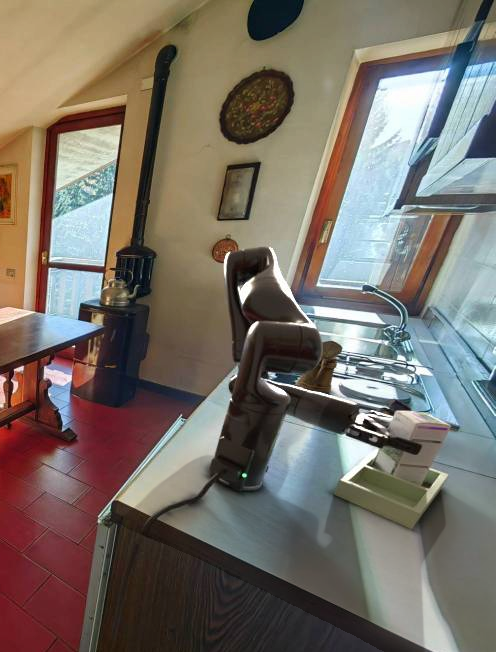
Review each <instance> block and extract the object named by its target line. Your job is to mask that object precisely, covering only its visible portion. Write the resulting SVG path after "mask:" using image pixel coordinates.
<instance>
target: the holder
mask: <svg viewBox="0 0 496 652" xmlns="http://www.w3.org/2000/svg"><path fill="white" fill-rule="evenodd" d="M378 450H379V449H378V448H377V449H374V450H373V451H372V452H371V453H369V454H368V455H367V456H366V457H365V458H363V460H361V461H360V462H359V463H358V464H357V465H355V466H354V467H353V468H352V469H351V470H349V471H348V473H346V474H345V475H344V476H343V477H341V479H339V481H338V484H337V485H336V488H335V489H334V493H333V495H334V496H336V497H339V498H341V499H343V500H345V501H347V502H350V503H352V504H354V505H356V506H359V507H361V508H364V509H365V510H368V511H370V512H373V513H375V514H377V515H379V516H381V517H383V518H385V519H387V520H390V521H392V522H395V523H397V524H399V525H401V526H403V527H406V528H407V529H410V530H413V529H414V527H415V526H416V524H417V523H418V522H419V520H420V518H421V517H422V516H423V514H424V513H425V512H426V510H427V509H428V508H429V506H430V505H431V504H432V502H433V500H434V499H435V498H436V497H437V495H438V494H439V493H440V491H441V490H442V488H443V486H444V485H445V483H446V481H447V479H448V478H449V476H450V475H449V474H448V473H446V472H443V471H439V470H437V469H434V468H431V467H430V469H429V471H428V473H427V475H426V477H425V479H424V481H423V483H422V485H421V486H420V485H417V484H414V483H412V482H409V481H406V480H404V479H401V478H399V477H396V476H393V475H391V474H388V473H385V472H383V471H380V470H378V469H375V468H372V467H371V466H372V463H373V461H374V459H375V457H376V454H377V452H378Z"/></svg>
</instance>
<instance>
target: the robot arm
mask: <svg viewBox="0 0 496 652" xmlns="http://www.w3.org/2000/svg"><path fill="white" fill-rule="evenodd" d="M223 279H224V280H223V281H224V288H225V295H226V303H227V310H228V315H229V321H230V327H231V352H232V353H231V356H232V357H231V358H232V361H233V362H234V363H235V364H236V366H237V369H238V370H237V373H236V375H234V376H233V377H232V378H231V379H230V380H229V382H228V387H227V388H228V391H229V393H230V394H231V396H230V400H229V403H228V407H227V410H226V413H225V417H224V420H223V423H222V427H221V429H220V430H221V431H220V434H219V437H218V440H217V444H216V448H215V451H214V455H213V458H212V459H211V462H210V465H209V469H208V470H209V474H208V477H209V478H210V479H209V480H208V481H207V482H205V484H204V486H202V488H201V490H200V491H199V492H198V493H197V494H195V495H194V496H192V497H188V498H186V499H182V500H180V501H177V502H174V503H171V504H168V505H166V506H164V507H162V508H161V509H159V510H157V511H155V512H154V513H153V514H151V515H150V516H149V518H148V519H147V520H146V522H145V523H144V525H142V527H141V530H140V532H141V533H142V534H147V532H149V529H150V528H151V526H152V525H153V523H155V521H156V520H157V519H158V518H159V517H161V516H163V515H164V514H166V513H168V512H170V511H172V510H175V509H177V508H181V507H183V506H185V505H188V504H192V503H195V502H197V501H199V500H200V499H202V498H203V497H204V496H205V495H206V494H207V493H208V491H209V489H210V488H211V487H212V486H213V485H214V484H215V483H216V482H219V483H220V484H222V485H225V486H226V487H228V488H230V489H232V490H234V491H236V492H238V493H240V492H242V491H245V492H253V491H258V490H259V489H260V488H261V487H262V485H263V482H264V478H265V474H267V473H268V470H269V468H270V467H269V464H270V461H271V457H272V454H273V451H274V449H275V446H276V443H277V440H278V439H279V435H280V433H281V430H282V427H283V424H284V423H285V419H286V416H289V417H292V418H295V419H297V420H300V421H302V422H304V423H307V424H309V425H312V426H315V427H318V428H320V429H323V430H326V431H329V432H332V433H335V434H337V435H341V436H343V435H344V436H346V437H348V438H350V439H354V440H356V441H359V442H361V443H364V444H367V445H370V446H372V447H375V448H377V449H379V448H383V447H390V446H391V447H393V448H396V449H399V450H402V451H404V452H407V453H410V454H413V455H417V454H419V452H420V450H421V448H422V445H421V444H419V443H416V442H413V441H410V440H406V439H403V438H400V437H396V438H395V436H394V435H392V434H391V433H389V432H387V430H388V427H389V425H390V423H391V421H392V418H393V416H390V415H386V414H383V413H379V412H376V411H374V410H369V411H368V412H369V414H368V415H367V414H365V413H363V412H360V409H361V406H360V404H359V403H356V402H353V401H350V400H346V399H344V398H343V399H342V398H339V397H336V396H334V395H330V394H327V393H320V392H314V391H309V390H306V389H303V388H301V387H299V386H297V385H292V384H287V383H278V382H274V381H272V380H270V375H269V373H271V374H273V373H274V374H281V375H288V376H289V375H290V376H300V375H302V374H306V373H309V372H311V371H312V370H314V369H315V368H316V367H317V365H318V364H319V362H320V360H321V357H322V352H323V345H322V342H323V339H322V335H321V333H320V331H319V329H318V328H317V326H316V325H315V324H314V323H313V322H312V321H311V320H310V318H309V317H308V316H307V315H306V314H305V313H304V312H303V311H302V310H301V308H300V306H299V305H298V303H297V302H296V300H295V297H294V295H293V293H292V291H291V289H290V287H289V285H288V284H287V282H286V281H285V279H284V277H283V275H282V273H281V271H280V268H279V264H278V261H277V256H276V254H275V252H274V250H273V248H271V247H270V246H256V247H249V248H243V249H238V250H237V249H236V250H232V251H229V252H228V253H226V255H225V258H224V261H223ZM241 286H242V287H241ZM240 287H241V289H240ZM140 548H141V545H140V544H138V543H137V542H135V543H134V544H133V548H132V551H131V552H130V553H131V554H130V557H129V559H128V562H127V566H126V569H125V572H124V575H123V579H122V582H121V586H120V591H119V594H118V600H117V605H116V610H115V615H114V619H113V624H112V627H111V633H110V637H109V639H110V641H111V642H115V641H116V637H117V633H118V629H119V624H120V620H121V615H122V610H123V605H124V601H125V596H126V592H127V588H128V584H129V580H130V577H131V574H132V571H133V568H134V565H135V562H136V559H137V556H138V554H139V551H140Z"/></svg>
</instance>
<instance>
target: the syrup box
mask: <svg viewBox="0 0 496 652" xmlns="http://www.w3.org/2000/svg"><path fill="white" fill-rule="evenodd" d="M451 428H452V425H451V424H449V423H447V422H445V421H443V420H441V419H439V418H437V417H435V416H433V415H431V414H429V413H428V412H423V411H416V410H411V411H396V412H395V414H394V416H393V418H392V421H391V423H390V425H389V427H388V430H387V432H389V433H391V434H392V435H394V436H395V438H396V437H400V438H403V439H406V440H410V441H413V442H416V443H419V444H421V445H422V448H421V450H420V452H419V454H417V455H413V454H410V453H407V452H404V451H402V450H399V449H396V448H393V447H391V446H390V447H383V448H378V449H377V450H378V452H377V454H376V457H375V459H374V461H373V463H372V466H371V467H372V468H375V469H378V470H380V471H383V472H385V473H388V474H391V475H393V476H396V477H399V478H401V479H404V480H406V481H409V482H412V483H414V484H417V485H420V486H421V485H422V483H423V481H424V479H425V477H426V475H427V473H428V471H429V469H430V468H431V467H432V465H433V463H434V461H435V459H436V457H437V455H438V453H439V451H440V449H441V447H442V446H443V444H444V442H445V440H446V438H447V435H448V434H449V431H450V430H451Z"/></svg>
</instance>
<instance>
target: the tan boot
mask: <svg viewBox="0 0 496 652" xmlns="http://www.w3.org/2000/svg"><path fill="white" fill-rule="evenodd" d="M322 345H323V352H322V357H321V360H320V362H319V364H318V365H317V367H316V368H315V369H314V370H312V371H311V372H309V373H306V374H302V375H301V376H300V377H299V378H298V379H297V381H296V383H295V386H296V387H299V388H302V389H306V390H309V391H313V392H319V393H323V394H327V393H330V392H331V390H332V381H333V376H334V371H335V369H336V368H337V367H338V366H337V365H338V361H337V359H338V358H337V356H339V355H341V353H342V352H343V346H342V345H341V344H340V343H338V342H336V341H335V340H327V341H322Z"/></svg>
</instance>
